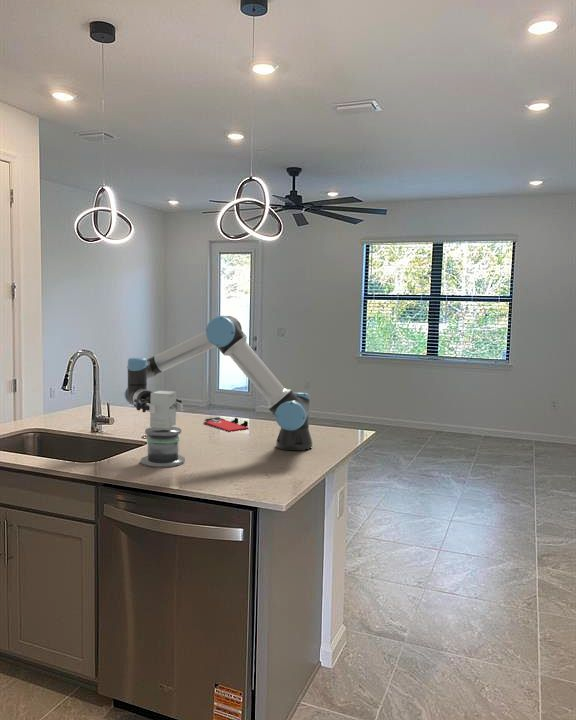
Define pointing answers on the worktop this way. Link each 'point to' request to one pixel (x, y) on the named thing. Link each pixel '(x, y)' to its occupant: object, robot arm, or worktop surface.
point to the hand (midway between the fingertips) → (168, 408)
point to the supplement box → (163, 409)
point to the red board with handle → (227, 424)
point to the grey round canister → (162, 447)
